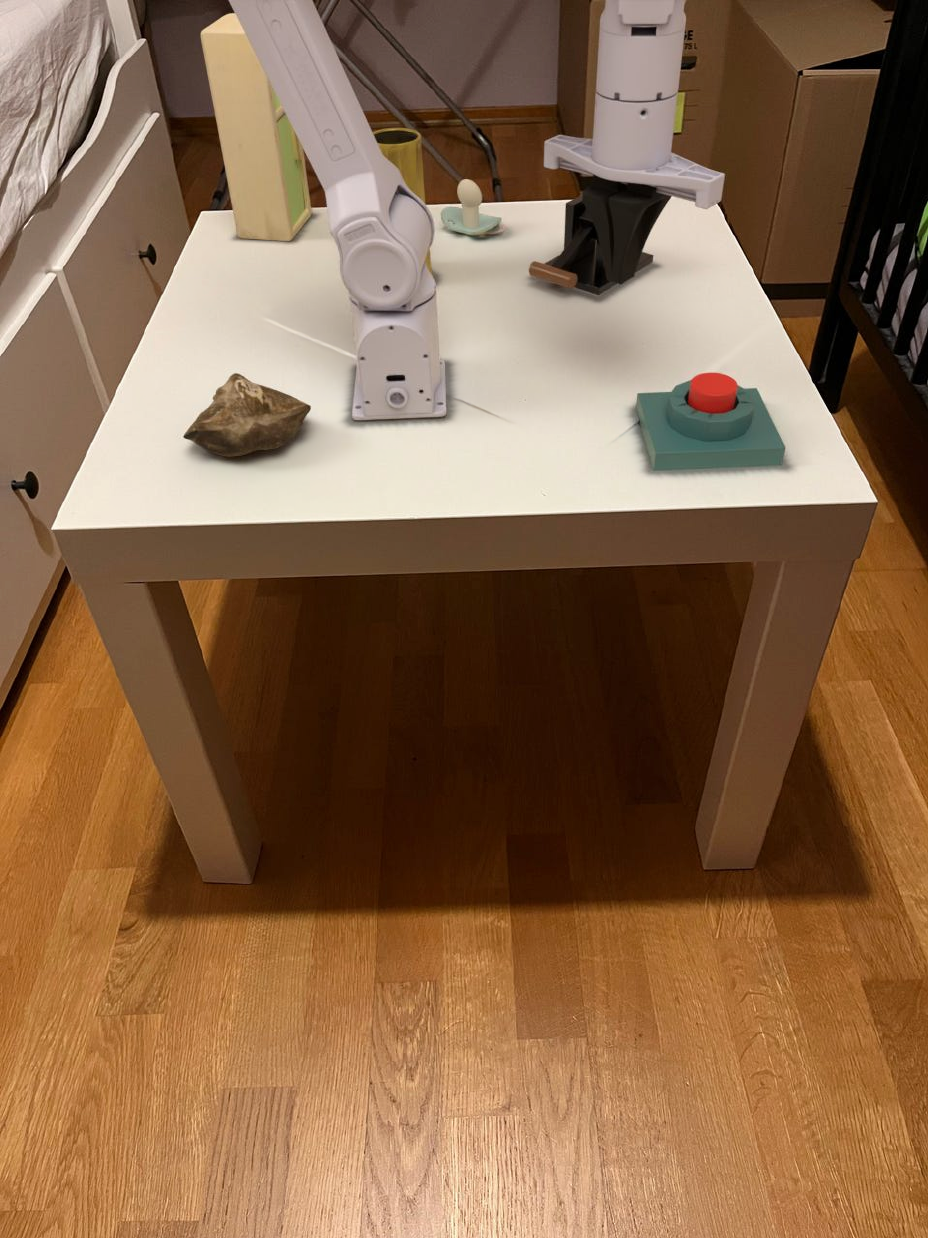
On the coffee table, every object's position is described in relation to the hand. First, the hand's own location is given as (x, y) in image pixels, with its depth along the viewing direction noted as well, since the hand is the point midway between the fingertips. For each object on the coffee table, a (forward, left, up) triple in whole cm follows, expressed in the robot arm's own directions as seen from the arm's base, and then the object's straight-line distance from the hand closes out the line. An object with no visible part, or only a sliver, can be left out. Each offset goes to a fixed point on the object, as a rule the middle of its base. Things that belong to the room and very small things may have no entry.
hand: (620, 278), depth 78 cm
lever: (+22, 0, -7) cm, 24 cm away
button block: (-8, -7, -10) cm, 14 cm away
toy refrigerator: (+40, +33, -11) cm, 53 cm away
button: (-7, -7, -7) cm, 12 cm away
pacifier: (+36, +10, -11) cm, 39 cm away
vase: (+24, +18, -11) cm, 32 cm away
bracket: (+24, -2, -10) cm, 27 cm away
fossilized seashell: (-6, +30, -11) cm, 33 cm away
